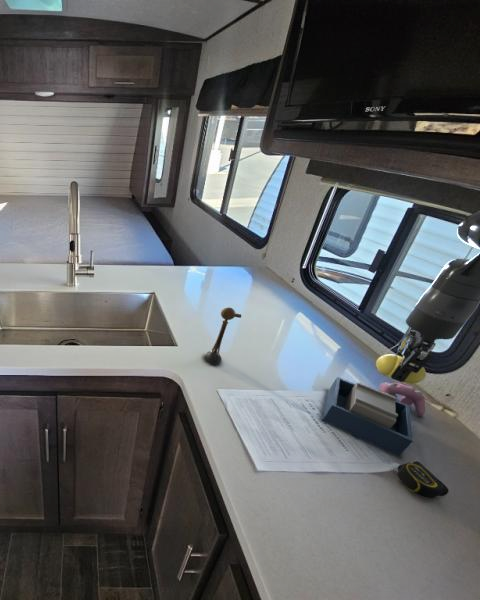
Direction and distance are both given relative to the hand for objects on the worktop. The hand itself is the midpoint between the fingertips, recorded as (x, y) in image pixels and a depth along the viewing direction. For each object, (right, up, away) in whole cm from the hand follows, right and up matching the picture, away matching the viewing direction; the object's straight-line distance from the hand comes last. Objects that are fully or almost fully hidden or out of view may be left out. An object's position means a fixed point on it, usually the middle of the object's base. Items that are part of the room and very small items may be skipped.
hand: (396, 372), depth 73 cm
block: (+2, -15, +11) cm, 19 cm away
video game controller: (+17, -13, +17) cm, 27 cm away
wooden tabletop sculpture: (-29, -3, +30) cm, 42 cm away
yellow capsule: (0, -1, +1) cm, 1 cm away
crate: (+2, -15, +11) cm, 19 cm away
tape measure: (+1, -24, -3) cm, 24 cm away
